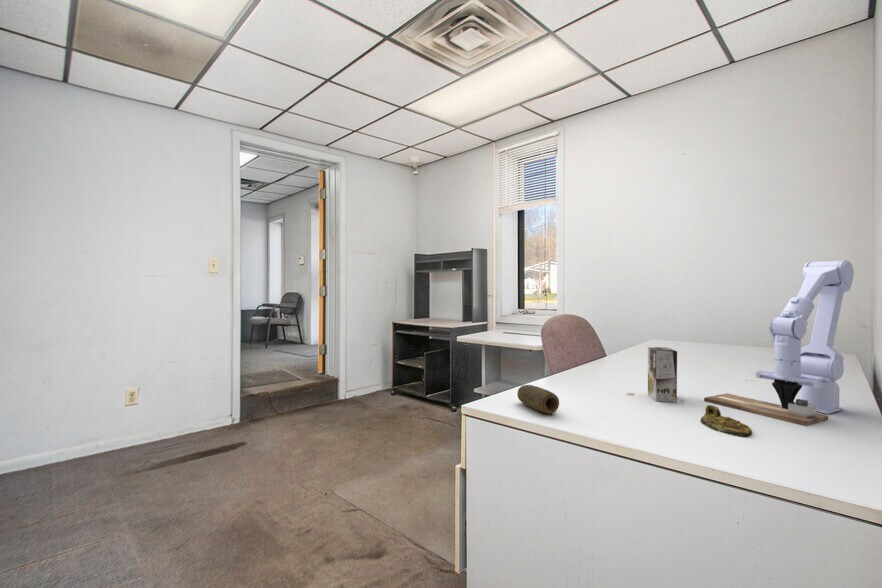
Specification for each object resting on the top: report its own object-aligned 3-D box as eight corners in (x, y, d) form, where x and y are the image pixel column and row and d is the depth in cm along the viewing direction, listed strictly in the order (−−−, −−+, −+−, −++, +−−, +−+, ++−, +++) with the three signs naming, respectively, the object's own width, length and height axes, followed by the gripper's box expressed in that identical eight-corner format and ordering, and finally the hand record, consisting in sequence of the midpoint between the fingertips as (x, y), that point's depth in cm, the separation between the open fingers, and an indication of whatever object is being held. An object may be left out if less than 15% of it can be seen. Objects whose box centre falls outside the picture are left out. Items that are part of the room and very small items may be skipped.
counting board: (726, 396, 135) (727, 393, 135) (828, 419, 111) (828, 415, 111) (704, 400, 130) (704, 397, 130) (804, 425, 106) (805, 421, 106)
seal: (766, 442, 99) (720, 421, 113) (768, 423, 98) (722, 404, 113) (729, 438, 98) (688, 418, 113) (731, 419, 98) (690, 401, 113)
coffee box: (677, 402, 128) (678, 351, 128) (655, 401, 129) (655, 350, 129) (667, 395, 137) (668, 346, 137) (647, 394, 138) (647, 346, 138)
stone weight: (563, 414, 117) (563, 391, 117) (543, 417, 114) (543, 393, 114) (531, 401, 130) (531, 380, 130) (513, 403, 128) (513, 382, 128)
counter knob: (797, 411, 114) (798, 397, 114) (815, 415, 111) (815, 401, 111) (788, 414, 112) (788, 399, 112) (806, 418, 109) (806, 403, 109)
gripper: (750, 357, 119) (749, 403, 120) (812, 365, 106) (811, 417, 106) (763, 355, 122) (763, 400, 123) (825, 363, 109) (825, 413, 109)
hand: (786, 408), depth 115 cm, fingers closed
